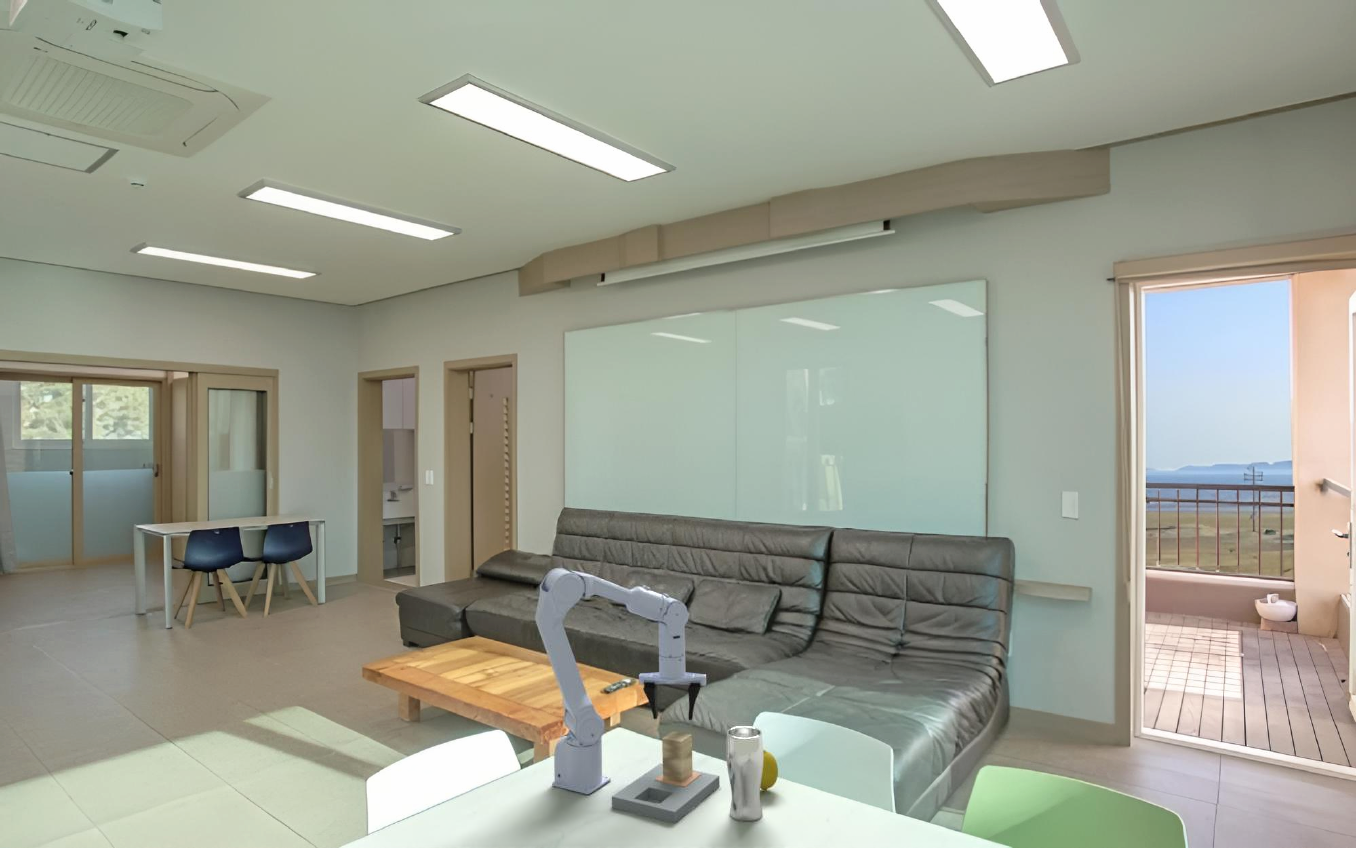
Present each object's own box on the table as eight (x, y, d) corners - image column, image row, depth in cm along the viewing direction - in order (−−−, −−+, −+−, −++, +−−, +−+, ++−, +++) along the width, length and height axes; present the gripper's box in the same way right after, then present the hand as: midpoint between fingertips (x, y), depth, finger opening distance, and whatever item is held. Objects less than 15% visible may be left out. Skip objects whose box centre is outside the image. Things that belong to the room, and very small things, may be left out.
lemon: (777, 798, 147) (776, 756, 148) (749, 796, 148) (748, 754, 149) (779, 786, 153) (778, 745, 153) (752, 784, 154) (751, 744, 154)
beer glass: (768, 808, 143) (766, 727, 144) (760, 825, 136) (758, 740, 137) (732, 803, 145) (731, 724, 146) (723, 820, 139) (721, 736, 139)
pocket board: (611, 807, 145) (611, 795, 145) (660, 773, 160) (660, 762, 160) (675, 823, 138) (674, 810, 138) (719, 786, 153) (719, 774, 153)
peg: (662, 778, 152) (662, 738, 152) (673, 771, 156) (673, 731, 156) (681, 783, 150) (681, 741, 150) (692, 775, 154) (691, 734, 154)
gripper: (636, 658, 161) (637, 723, 161) (703, 659, 160) (705, 725, 159) (641, 650, 168) (642, 712, 168) (706, 651, 167) (707, 714, 166)
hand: (673, 718), depth 164 cm, fingers open, 7 cm apart
